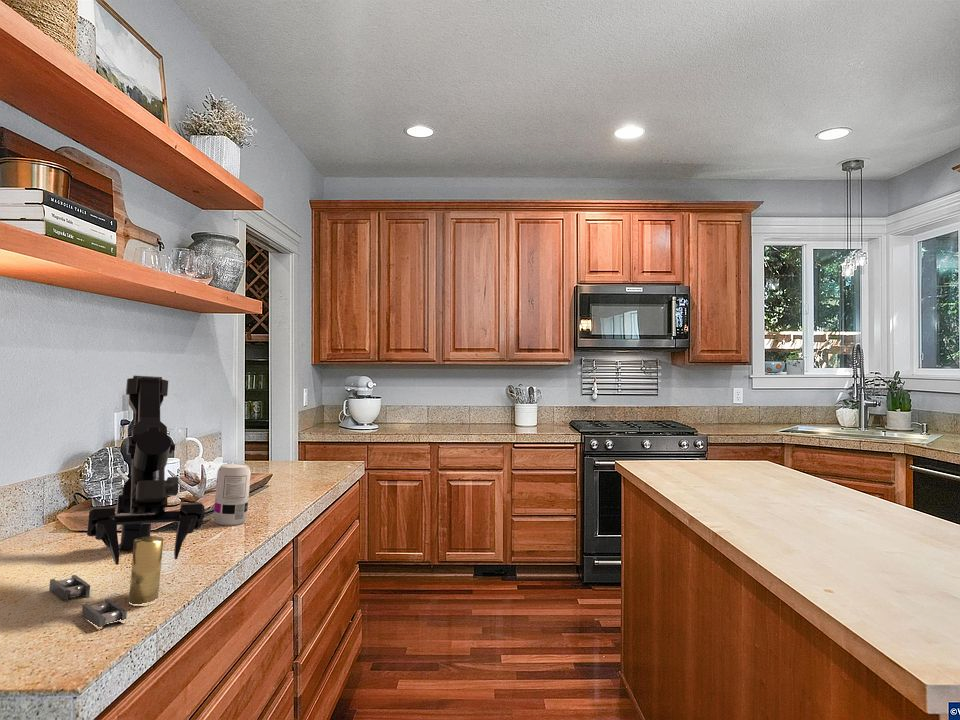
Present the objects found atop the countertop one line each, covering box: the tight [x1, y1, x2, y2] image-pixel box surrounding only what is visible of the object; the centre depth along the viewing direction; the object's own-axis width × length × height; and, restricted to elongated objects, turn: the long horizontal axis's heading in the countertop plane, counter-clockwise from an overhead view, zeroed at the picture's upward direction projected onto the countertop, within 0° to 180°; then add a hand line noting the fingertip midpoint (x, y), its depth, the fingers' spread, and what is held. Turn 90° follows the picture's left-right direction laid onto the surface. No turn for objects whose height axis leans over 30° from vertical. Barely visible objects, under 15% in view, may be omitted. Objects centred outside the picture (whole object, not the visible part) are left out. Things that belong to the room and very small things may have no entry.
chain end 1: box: [48, 574, 91, 603], centre depth 109 cm, size 7×4×2 cm, turn 52°
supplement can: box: [213, 462, 252, 526], centre depth 162 cm, size 8×8×15 cm
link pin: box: [128, 535, 164, 604], centre depth 108 cm, size 5×5×11 cm
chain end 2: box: [81, 598, 128, 627], centre depth 100 cm, size 7×4×2 cm, turn 52°
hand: (147, 560), depth 108 cm, fingers open, 9 cm apart
